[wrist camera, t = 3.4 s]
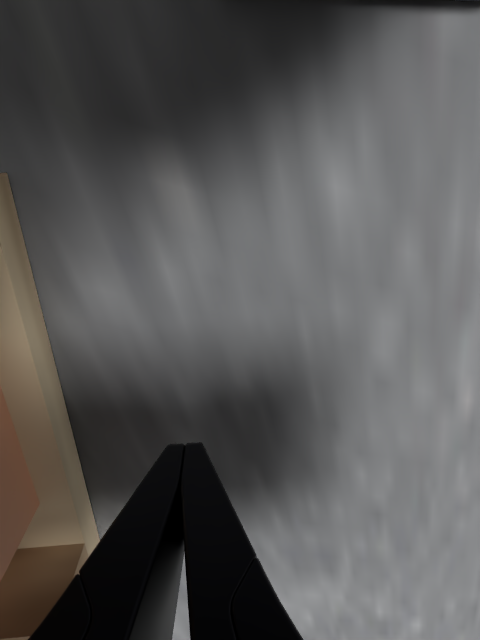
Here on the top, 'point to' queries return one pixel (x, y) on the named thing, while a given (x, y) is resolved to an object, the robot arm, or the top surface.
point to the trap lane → (37, 445)
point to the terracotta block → (13, 490)
